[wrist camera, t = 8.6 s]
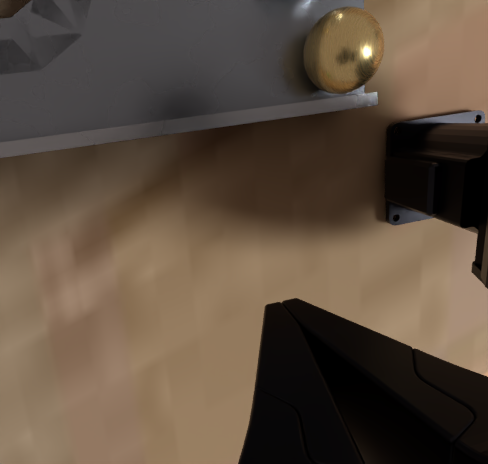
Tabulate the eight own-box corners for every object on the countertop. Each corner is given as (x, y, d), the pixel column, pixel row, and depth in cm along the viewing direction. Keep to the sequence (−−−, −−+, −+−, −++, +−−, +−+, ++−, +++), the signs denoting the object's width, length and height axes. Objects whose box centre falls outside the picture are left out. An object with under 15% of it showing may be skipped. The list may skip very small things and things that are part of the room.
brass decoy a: (330, 19, 17) (401, 2, 14) (329, 94, 18) (394, 90, 16) (286, 12, 15) (361, -10, 12) (288, 98, 16) (357, 93, 13)
